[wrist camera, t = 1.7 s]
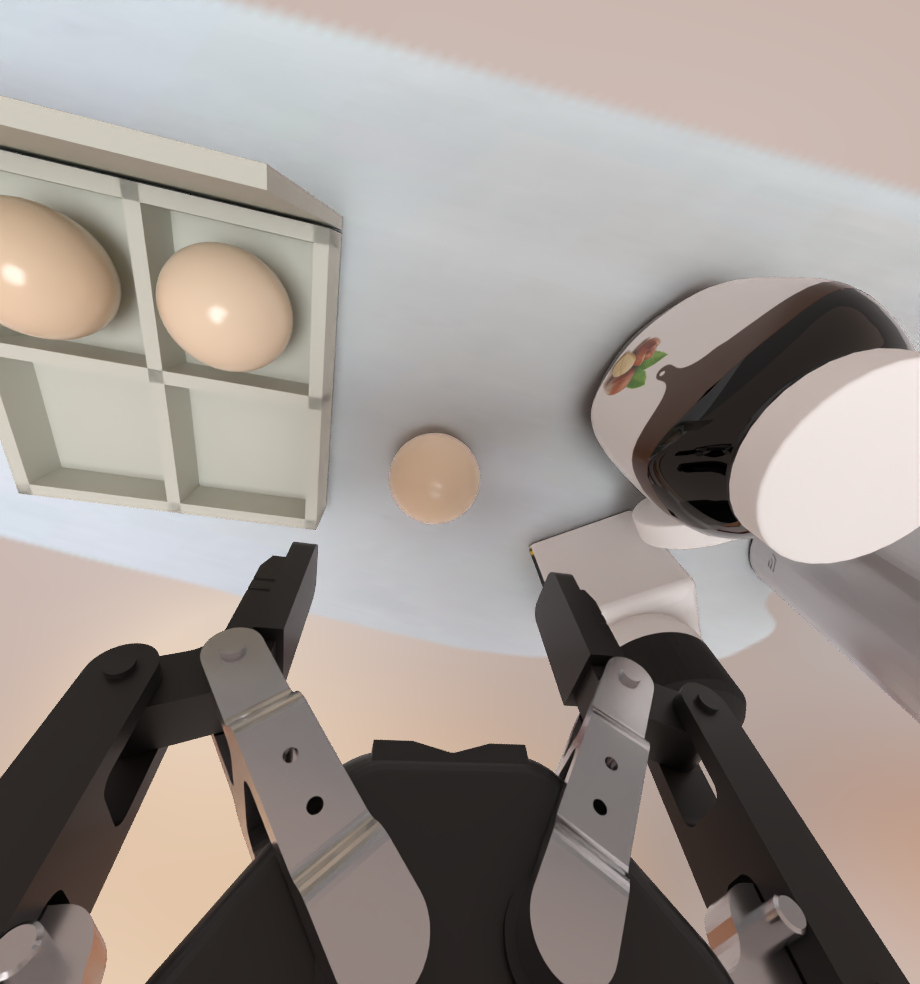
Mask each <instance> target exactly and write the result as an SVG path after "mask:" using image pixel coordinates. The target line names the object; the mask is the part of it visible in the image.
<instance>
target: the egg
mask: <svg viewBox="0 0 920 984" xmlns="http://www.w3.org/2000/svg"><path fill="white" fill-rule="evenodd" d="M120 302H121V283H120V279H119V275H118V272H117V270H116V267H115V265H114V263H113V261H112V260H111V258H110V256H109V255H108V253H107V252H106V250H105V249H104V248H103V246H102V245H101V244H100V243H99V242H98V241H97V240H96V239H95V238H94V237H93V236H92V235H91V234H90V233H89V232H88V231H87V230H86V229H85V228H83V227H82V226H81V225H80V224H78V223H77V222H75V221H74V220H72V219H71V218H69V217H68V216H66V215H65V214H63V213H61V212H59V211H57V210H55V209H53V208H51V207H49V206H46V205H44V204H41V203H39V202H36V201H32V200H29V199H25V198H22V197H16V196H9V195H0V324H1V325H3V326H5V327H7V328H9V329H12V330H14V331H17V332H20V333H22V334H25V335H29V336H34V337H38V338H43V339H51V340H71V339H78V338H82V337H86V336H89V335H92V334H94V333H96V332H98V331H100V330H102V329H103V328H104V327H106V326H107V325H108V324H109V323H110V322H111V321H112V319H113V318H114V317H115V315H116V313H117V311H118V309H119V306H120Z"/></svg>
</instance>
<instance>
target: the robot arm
mask: <svg viewBox="0 0 920 984" xmlns="http://www.w3.org/2000/svg"><path fill="white" fill-rule="evenodd" d="M317 557H318V545H317V544H309V543H300V542H293V543H292V545H291V547H290V549H289V552H288V554H287V556H286V557H281V556H272V557H271V558H269V559H268V560H267V561H266V562H264V563H263V564H262V565H260V567H259V569H258V571H257V573H256V574H255V576H254V579H253V580H252V582H251V584H250V585H249V587H248V590H247V591H246V593H245V595H244V596H243V598H242V600H241V602H240V604H239V606H238V607H237V609H236V611H235V613H234V615H233V617H232V618H231V620H230V622H229V624H228V626H227V628H226V629H225V630H224V631H222V632H220V633H218V634H216V635H214V636H213V637H212V638H210V639H209V640H208V641H207V642H206V643H205V645H204V646H203V647H200V648H198V649H195V650H191V651H186V652H180V653H175V654H169V655H163V656H159V654H158V652H157V651H156V649H155V648H153V647H152V646H149V645H146V644H138V643H136V644H135V643H134V644H126V645H122V646H118V647H115V648H112V649H110V650H108V651H106V652H104V653H102V654H100V655H99V656H97V657H96V658H94V659H93V660H92V661H91V662H90V663H89V664H88V665H87V666H86V667H85V668H84V669H83V671H82V672H81V673H80V675H79V676H78V677H77V679H76V680H75V681H74V683H73V684H72V685H71V687H70V688H69V689H68V691H67V692H66V693H65V694H64V696H63V697H62V698H61V700H60V701H59V702H58V704H57V705H56V706H55V708H54V709H53V710H52V712H51V713H50V714H49V715H48V717H47V718H46V720H45V721H44V722H43V723H42V725H41V726H40V727H39V728H38V730H37V731H36V733H35V734H34V735H33V736H32V738H31V739H30V740H29V742H28V743H27V744H26V745H25V747H24V748H23V749H22V751H21V752H20V753H19V755H18V756H17V757H16V759H15V760H14V761H13V762H12V764H11V765H10V767H9V768H8V769H7V770H6V772H5V773H4V774H3V776H2V777H1V778H0V984H101V982H102V978H103V975H104V971H105V967H106V961H107V950H106V945H105V942H104V940H103V938H102V936H101V934H100V932H99V931H98V929H97V927H96V925H95V923H94V921H93V919H92V917H91V916H90V913H91V911H92V908H93V906H94V904H95V902H96V900H97V898H98V896H99V894H100V891H101V889H102V887H103V885H104V883H105V881H106V879H107V876H108V874H109V872H110V870H111V868H112V866H113V864H114V861H115V859H116V857H117V855H118V853H119V851H120V849H121V846H122V844H123V842H124V840H125V838H126V835H127V833H128V831H129V829H130V827H131V825H132V823H133V821H134V818H135V816H136V814H137V812H138V810H139V808H140V806H141V803H142V801H143V799H144V797H145V795H146V792H147V790H148V788H149V786H150V784H151V782H152V779H153V778H154V775H155V773H156V771H157V769H158V767H159V765H160V763H161V760H162V758H163V756H164V754H165V752H166V750H167V748H168V746H170V745H174V744H178V743H181V742H185V741H189V740H192V739H196V738H200V737H204V736H208V735H211V736H212V739H213V742H214V744H215V747H216V750H217V753H218V756H219V759H220V762H221V764H222V767H223V770H224V773H225V775H226V778H227V781H228V784H229V787H230V790H231V792H232V795H233V799H234V803H235V807H236V812H237V816H238V820H239V823H240V826H241V829H242V833H243V836H244V838H245V841H246V844H247V847H248V850H249V853H250V856H251V858H252V862H251V864H250V865H249V866H248V867H247V868H246V869H245V870H244V871H243V872H242V874H241V875H240V876H239V877H238V878H237V879H236V880H235V882H234V883H233V884H232V885H231V886H230V887H229V888H228V890H227V891H226V892H225V893H224V894H223V895H222V896H221V898H220V899H219V900H218V901H217V902H216V903H215V904H214V906H213V907H212V908H211V909H210V910H209V911H208V912H207V913H206V915H205V916H204V917H203V918H202V919H201V920H200V921H199V923H198V924H197V925H196V926H195V927H194V928H193V929H192V931H191V932H190V933H189V934H188V935H187V936H186V937H185V938H184V940H183V941H182V942H181V943H180V944H179V945H178V946H177V948H176V949H175V950H174V951H173V952H172V953H171V954H170V955H169V957H168V958H167V959H166V960H165V961H164V963H163V964H162V965H161V966H160V967H159V968H158V969H157V970H156V971H155V973H154V974H153V975H152V976H151V977H150V978H149V980H148V981H147V982H146V983H145V984H910V983H909V982H908V980H907V979H906V977H905V976H904V974H903V973H902V971H901V969H900V968H899V966H898V965H897V963H896V962H895V960H894V959H893V957H892V956H891V954H890V953H889V951H888V950H887V948H886V946H885V945H884V944H883V942H882V940H881V939H880V938H879V936H878V934H877V933H876V931H875V930H874V928H873V927H872V925H871V924H870V922H869V921H868V919H867V917H866V916H865V915H864V913H863V911H862V910H861V908H860V907H859V905H858V904H857V902H856V901H855V899H854V898H853V896H852V895H851V893H850V892H849V890H848V888H847V887H846V886H845V884H844V883H843V881H842V879H841V878H840V876H839V875H838V873H837V872H836V870H835V869H834V867H833V866H832V864H831V862H830V861H829V859H828V858H827V856H826V855H825V853H824V852H823V850H822V849H821V848H820V846H819V844H818V843H817V841H816V840H815V838H814V837H813V835H812V834H811V832H810V830H809V829H808V827H807V826H806V824H805V823H804V821H803V820H802V818H801V817H800V815H799V814H798V812H797V811H796V809H795V807H794V806H793V805H792V803H791V801H790V800H789V798H788V797H787V795H786V794H785V792H784V791H783V789H782V788H781V786H780V785H779V783H778V782H777V780H776V779H775V777H774V776H773V774H772V772H771V771H770V769H769V768H768V766H767V765H766V763H765V762H764V760H763V759H762V757H761V756H760V754H759V752H758V751H757V749H756V748H755V746H754V745H753V744H752V742H751V740H750V739H749V737H748V736H747V734H746V733H745V731H744V730H743V728H742V727H741V725H740V723H739V722H738V720H737V719H736V717H735V716H734V714H733V713H732V711H731V710H730V708H729V707H728V705H727V704H726V703H725V701H724V700H723V699H722V698H721V697H720V696H719V695H718V694H716V693H715V692H714V691H712V690H711V689H709V688H708V687H706V686H704V685H701V684H698V683H694V682H689V683H686V684H684V685H683V686H682V688H681V689H680V691H679V692H678V691H675V690H673V689H670V688H667V687H664V686H661V685H659V684H656V683H653V681H652V679H651V677H650V676H649V674H648V673H647V672H646V671H645V670H644V669H643V668H642V667H641V666H640V665H639V664H637V663H636V662H634V661H632V660H630V659H627V658H626V657H625V656H624V654H623V652H622V650H621V648H620V646H619V644H618V642H617V641H616V639H615V637H614V635H613V633H612V631H611V629H610V627H609V625H607V622H606V620H605V618H604V616H603V615H602V614H601V613H602V612H601V610H600V609H599V607H598V605H597V603H596V601H595V600H594V599H593V598H592V597H591V596H590V595H589V594H588V593H587V592H586V591H585V590H580V588H579V586H578V584H577V582H576V580H575V578H574V577H573V575H571V574H565V573H556V572H550V573H549V574H548V576H547V578H546V581H545V583H544V586H543V588H542V591H541V593H540V596H539V598H538V601H537V604H536V609H535V618H536V622H537V625H538V628H539V632H540V635H541V638H542V641H543V644H544V647H545V650H546V653H547V656H548V659H549V662H550V665H551V667H552V671H553V674H554V677H555V680H556V683H557V686H558V689H559V692H560V695H561V698H562V701H563V704H564V705H567V706H578V709H579V712H580V713H579V715H578V717H577V719H576V721H575V723H574V726H573V729H572V731H571V734H570V736H569V739H568V741H567V744H566V747H565V750H564V752H563V755H562V757H561V759H560V762H559V765H558V767H557V769H556V771H555V773H554V772H552V771H551V770H550V769H548V768H547V767H545V766H543V765H542V764H540V763H538V762H536V761H533V760H531V759H528V756H527V751H526V748H525V745H513V744H511V745H510V744H487V745H483V746H480V747H475V748H472V749H468V750H464V751H460V752H456V753H450V752H446V751H443V750H440V749H437V748H434V747H430V746H427V745H424V744H421V743H417V742H414V741H395V740H374V742H373V747H372V753H369V754H365V755H362V756H359V757H357V758H355V759H352V760H350V761H348V762H347V763H345V764H343V765H342V763H341V761H340V760H339V758H338V756H337V754H336V752H335V751H334V749H333V747H332V745H331V744H330V742H329V740H328V738H327V736H326V735H325V733H324V731H323V729H322V727H321V726H320V724H319V722H318V721H317V718H316V717H315V715H314V713H313V711H312V710H311V708H310V706H309V705H308V702H307V701H306V699H305V697H304V696H303V695H302V693H301V692H299V691H295V692H293V691H292V690H291V689H290V687H289V686H288V684H287V682H286V679H287V676H288V673H289V670H290V667H291V664H292V660H293V658H294V655H295V652H296V648H297V646H298V643H299V639H300V637H301V633H302V630H303V627H304V624H305V621H306V618H307V615H308V612H309V609H310V606H311V603H312V600H313V596H314V592H315V586H316V574H317ZM750 562H751V566H752V569H753V570H754V572H755V573H756V574H757V576H758V577H759V578H760V579H761V580H763V581H764V582H765V583H766V584H767V585H768V586H769V587H770V588H771V589H772V590H774V591H775V592H776V593H777V594H778V595H779V596H780V597H781V598H782V599H783V600H785V601H786V602H787V603H788V604H789V605H790V606H791V607H792V608H794V609H795V610H796V611H797V612H798V613H799V614H800V615H801V616H802V617H803V618H804V619H805V620H806V621H807V622H808V623H809V624H811V625H812V626H813V627H814V628H815V629H816V630H817V631H818V632H819V633H820V634H822V635H823V636H824V637H825V638H826V639H827V640H828V641H829V642H831V644H833V645H834V646H835V647H836V648H837V649H838V650H839V651H840V652H841V653H842V654H844V655H845V656H846V657H847V658H848V659H849V660H850V661H851V662H852V663H854V664H855V665H856V666H857V667H858V668H859V669H860V670H861V671H862V672H863V673H865V674H866V675H867V676H868V677H869V678H870V679H871V680H872V681H873V682H874V683H875V684H877V685H878V686H879V687H880V688H881V689H882V690H883V691H884V692H885V693H887V694H888V695H889V696H890V697H891V698H892V699H893V700H894V701H896V703H897V704H899V705H900V706H901V707H902V708H903V709H904V710H905V711H906V712H907V713H909V714H910V715H911V716H912V717H913V718H914V719H915V720H916V721H917V722H918V723H920V526H919V527H918V528H917V529H915V530H914V531H912V532H911V533H909V534H908V535H906V536H904V537H902V538H901V539H899V540H897V541H895V542H894V543H892V544H890V545H888V546H886V547H883V548H881V549H879V550H877V551H874V552H872V553H870V554H867V555H863V556H860V557H857V558H854V559H851V560H846V561H840V562H834V563H820V564H809V563H803V562H797V561H793V560H790V559H788V558H786V557H783V556H781V555H779V554H778V553H777V552H775V551H774V550H773V549H771V548H770V547H769V546H768V545H766V544H765V543H764V542H763V541H761V540H760V539H759V538H756V539H753V541H752V545H751V548H750ZM701 760H702V762H703V764H704V765H705V768H706V769H707V771H708V773H709V775H710V777H711V779H712V781H713V783H714V785H715V788H716V792H717V799H716V797H715V795H714V793H713V791H712V789H711V787H710V785H709V783H708V781H707V779H706V777H705V775H704V774H703V771H702V770H701V768H700V766H699V764H698V763H699V762H700V761H701ZM647 764H648V766H649V768H650V771H651V773H652V776H653V778H654V781H655V783H656V785H657V788H658V790H659V792H660V795H661V797H662V800H663V803H664V805H665V807H666V810H667V812H668V815H669V817H670V820H671V822H672V824H673V826H674V829H675V832H676V834H677V837H678V839H679V842H680V843H681V846H682V849H683V851H684V854H685V856H686V858H687V861H688V863H689V866H690V868H691V871H692V873H693V876H694V878H695V880H696V883H697V885H698V888H699V890H700V893H701V895H702V898H703V900H704V902H705V905H706V907H707V911H706V915H705V929H706V935H707V938H708V941H709V943H708V944H707V943H706V942H705V941H704V940H703V939H702V938H701V936H699V934H698V933H697V932H696V931H695V930H694V929H693V927H692V926H691V925H690V924H689V923H688V922H687V920H686V919H685V918H684V917H683V916H682V915H681V914H680V913H679V911H678V910H677V909H676V908H675V907H674V906H673V905H672V903H671V902H670V901H669V900H668V899H667V898H666V897H665V895H664V894H663V893H662V892H661V891H660V890H659V889H658V887H657V886H656V885H655V884H654V883H653V882H652V881H651V880H650V878H649V877H648V876H647V875H646V874H645V873H644V872H643V870H642V869H641V868H640V867H639V866H638V865H637V864H636V862H635V861H634V860H633V859H632V858H631V857H630V856H631V850H632V845H633V840H634V834H635V828H636V823H637V817H638V812H639V806H640V800H641V795H642V789H643V784H644V778H645V772H646V766H647Z"/></svg>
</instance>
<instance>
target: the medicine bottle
mask: <svg viewBox="0 0 920 984" xmlns="http://www.w3.org/2000/svg"><path fill="white" fill-rule="evenodd" d="M632 512H633V511H626V512H623V513H620V514H617V515H614V516H611V517H608V518H606V519H603V520H600V521H597V522H594V523H591V524H588V525H586V526H583V527H580V528H577V529H574V530H571V531H568V532H566V533H563V534H560V535H557V536H554V537H551V538H548V539H546V540H543V541H540V542H537V543H534V544H532V545H531V546H530V553H531V556H532V559H533V562H534V564H535V567H536V570H537V572H538V575H539V578H540V580H541V583H542V586H544V583H545V581H546V578H547V576H548V574H549V573H550V572H556V573H565V574H571V575H573V577H574V578H575V580H576V582H577V584H578V586H579V588H580V590H585V591H586V592H587V593H588V594H589V595H590V596H591V597H592V598H593V599H594V600H595V601H596V603H597V605H598V607H599V609H600V610H601V612H602V613H601V614H602V615H603V616H604V618H605V620H606V622H607V625H609V627H610V629H611V631H612V633H613V635H614V637H615V639H616V641H617V642H618V644H619V646H620V648H621V650H622V652H623V654H624V656H625V657H626V658H627V659H630V660H632V661H634V662H636V663H637V664H639V665H640V666H641V667H642V668H643V669H644V670H645V671H646V672H647V673H648V674H649V676H650V677H651V679H652V681H653V683H656V684H659V685H661V686H664V687H667V688H670V689H673V690H675V691H678V692H679V691H680V689H681V688H682V686H683V685H684V684H686V683H689V682H694V683H698V684H701V685H704V686H706V687H708V688H709V689H711V690H712V691H714V692H715V693H716V694H718V695H719V696H720V697H721V698H722V699H723V700H724V701H725V703H726V704H727V705H728V707H729V708H730V710H731V711H732V713H733V714H734V716H735V717H736V719H737V720H738V722H739V723H740V725H741V726H742V724H743V723H744V719H745V713H746V700H745V697H744V695H743V693H742V692H741V690H740V689H739V688H738V686H737V685H736V684H735V682H734V681H733V680H732V678H731V677H730V676H729V674H728V673H727V672H726V670H725V669H724V668H723V666H722V665H721V664H720V662H719V661H718V660H717V658H716V657H715V656H714V654H713V653H712V652H711V651H710V649H709V648H708V647H707V645H706V644H705V643H704V641H703V640H702V639H701V631H700V623H699V615H698V606H697V598H696V590H695V583H694V581H693V579H692V578H691V577H690V575H689V574H688V573H687V572H686V571H685V570H684V568H683V567H682V566H681V565H680V564H679V563H678V562H677V560H676V559H675V558H674V557H673V556H672V555H671V554H670V552H669V551H668V550H667V549H666V548H659V547H655V546H651V545H649V544H647V543H645V542H644V541H643V540H641V538H640V536H639V533H638V531H637V528H636V525H635V523H634V520H633V517H632Z"/></svg>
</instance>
